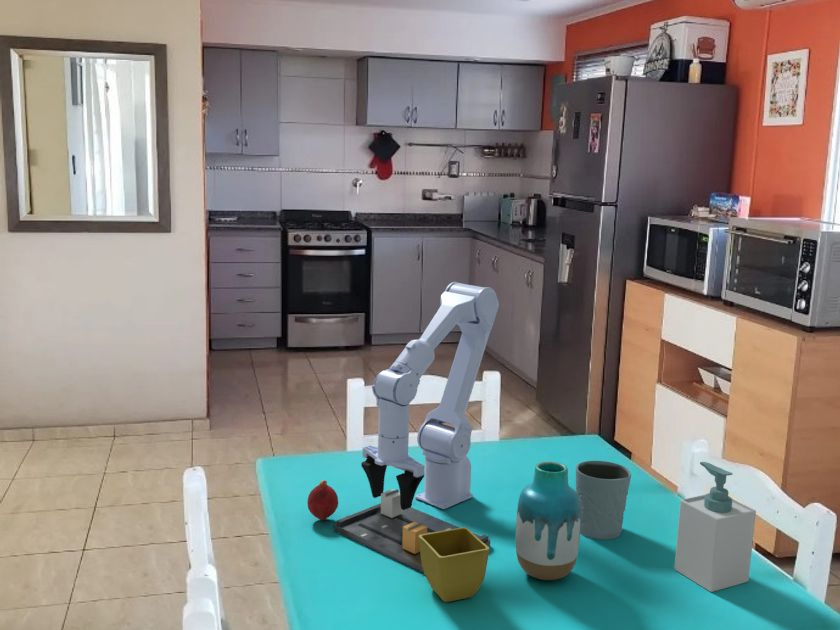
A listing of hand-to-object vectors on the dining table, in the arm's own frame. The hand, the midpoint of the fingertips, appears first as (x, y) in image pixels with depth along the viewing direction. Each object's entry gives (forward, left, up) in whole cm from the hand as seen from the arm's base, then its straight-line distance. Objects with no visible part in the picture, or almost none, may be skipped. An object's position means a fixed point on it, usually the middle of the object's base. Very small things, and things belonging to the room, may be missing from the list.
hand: (391, 502), depth 165 cm
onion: (+9, -9, -4) cm, 14 cm away
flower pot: (+12, +26, -4) cm, 29 cm away
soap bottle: (-24, +53, -4) cm, 58 cm away
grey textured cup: (-26, +30, -4) cm, 40 cm away
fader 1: (0, 0, -2) cm, 2 cm away
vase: (-4, +33, -4) cm, 33 cm away
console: (+3, +8, -4) cm, 9 cm away
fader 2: (+7, +13, -2) cm, 15 cm away
